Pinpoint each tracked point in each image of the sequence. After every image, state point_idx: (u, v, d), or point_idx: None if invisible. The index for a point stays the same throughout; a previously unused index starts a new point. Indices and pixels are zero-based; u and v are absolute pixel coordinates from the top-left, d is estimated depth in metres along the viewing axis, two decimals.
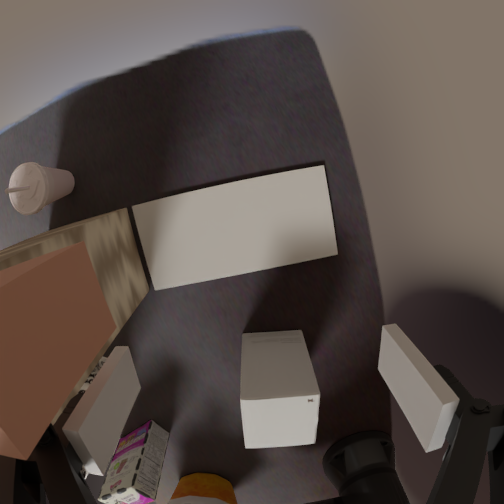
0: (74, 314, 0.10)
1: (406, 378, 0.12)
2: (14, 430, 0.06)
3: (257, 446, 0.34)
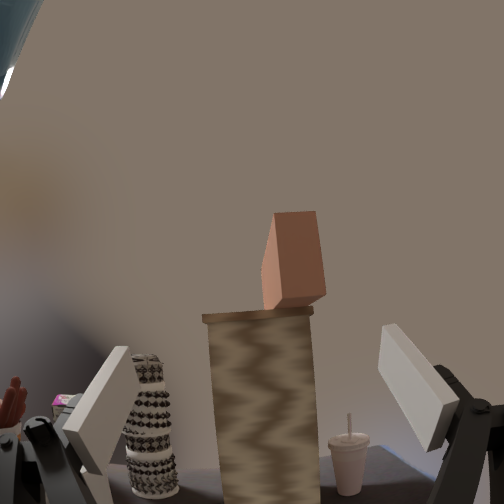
0: (299, 268, 0.29)
1: (406, 378, 0.12)
2: (282, 216, 0.30)
3: None
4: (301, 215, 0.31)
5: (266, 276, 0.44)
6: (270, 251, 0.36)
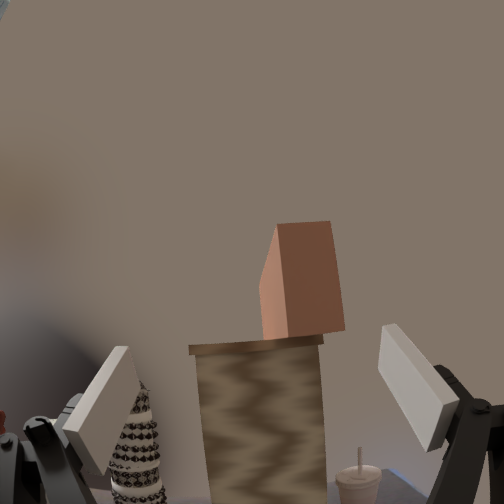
0: (311, 297, 0.22)
1: (406, 378, 0.12)
2: (288, 227, 0.23)
3: None
4: (312, 226, 0.23)
5: (265, 296, 0.37)
6: (271, 270, 0.29)
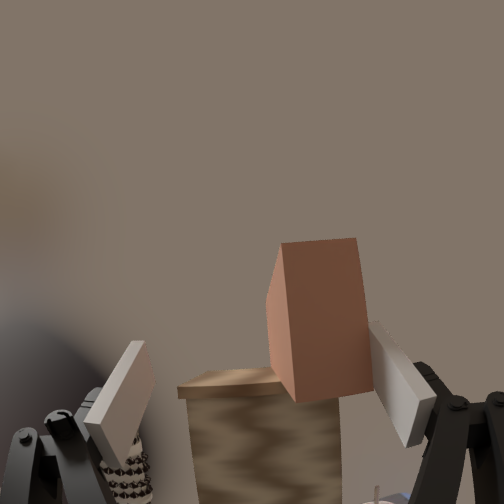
0: (328, 348, 0.15)
1: (387, 374, 0.13)
2: (297, 248, 0.16)
3: None
4: (331, 246, 0.16)
5: (271, 322, 0.30)
6: (276, 298, 0.22)
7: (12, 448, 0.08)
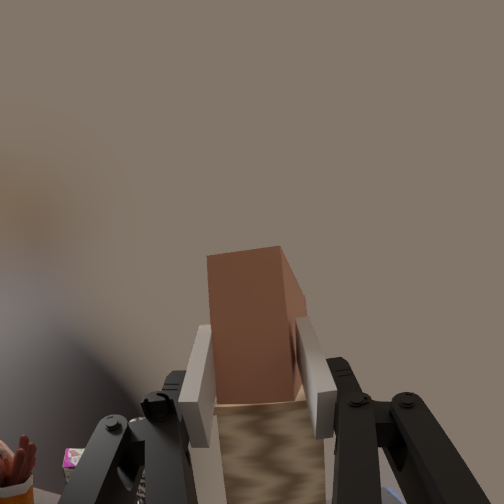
0: (247, 355, 0.16)
1: (305, 367, 0.14)
2: (221, 260, 0.17)
3: None
4: (254, 256, 0.17)
5: None
6: None
7: (95, 434, 0.09)
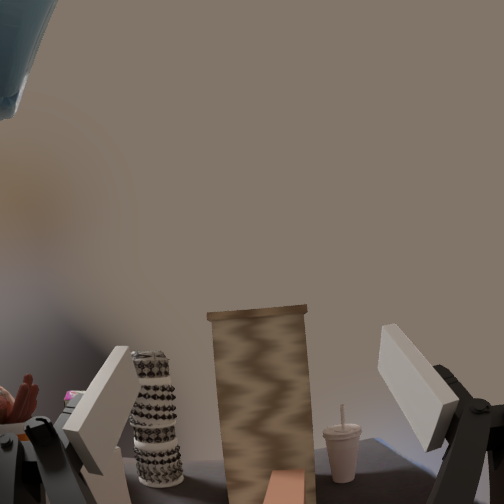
0: None
1: (406, 378, 0.12)
2: None
3: None
4: None
5: None
6: None
7: None
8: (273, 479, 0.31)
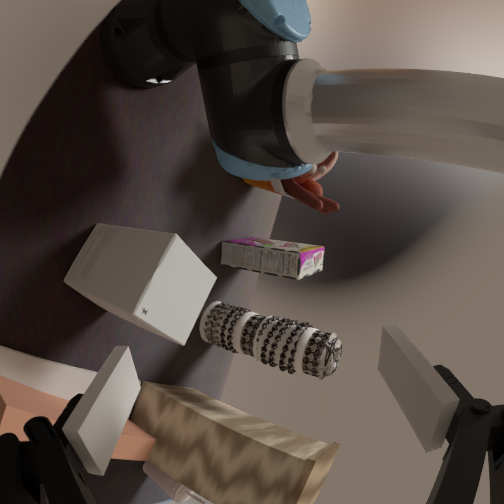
0: None
1: (406, 378, 0.12)
2: (3, 409, 0.21)
3: (210, 274, 0.36)
4: None
5: None
6: (48, 411, 0.27)
7: None
8: (140, 440, 0.37)
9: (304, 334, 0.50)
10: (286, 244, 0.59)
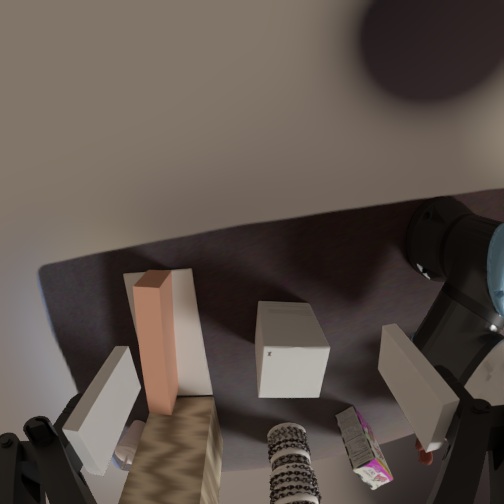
0: (156, 275, 0.50)
1: (406, 378, 0.12)
2: (154, 286, 0.45)
3: (317, 390, 0.42)
4: (142, 286, 0.45)
5: (170, 363, 0.51)
6: (164, 322, 0.48)
7: None
8: (167, 402, 0.49)
9: (309, 496, 0.43)
10: (378, 450, 0.51)
